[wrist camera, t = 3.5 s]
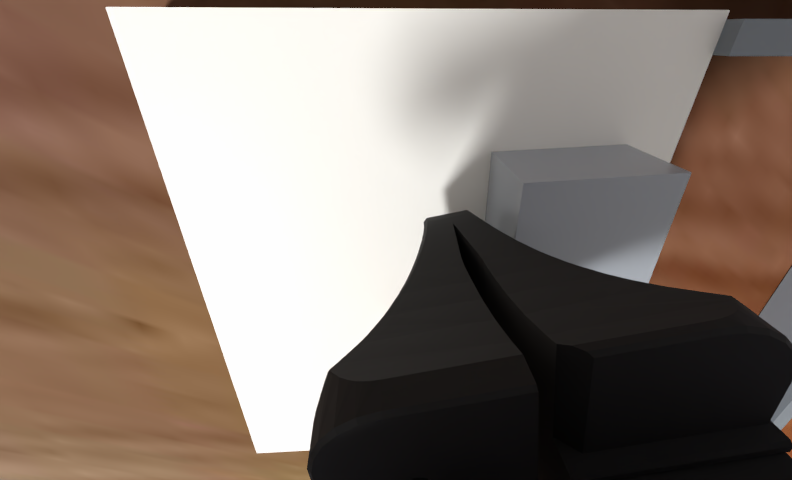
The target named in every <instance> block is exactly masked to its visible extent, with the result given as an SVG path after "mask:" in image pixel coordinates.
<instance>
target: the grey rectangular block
mask: <svg viewBox="0 0 792 480" xmlns="http://www.w3.org/2000/svg"><path fill="white" fill-rule="evenodd" d="M690 175H691V172H689V171H687V170H684V169H682V168H680V167H678V166H675V165H673V164H671V163H668V162H666V161H664V160H662V159H659V158H657V157H655V156H652V155H650V154H648V153H646V152H643V151H641V150H639V149H636V148H634V147H632V146H630V145H627V144H620V145H603V146H585V147H567V148H549V149H532V150H514V151H497V152H491V162H490V173H489V183H488V194H487V204H486V215H485V222H486V223H488V224H490V225H491V226H493V227H494V228H496V229H498V230H499V231H501V232H503V233H505V234H506V235H508V236H510V237H512V238H514V239H515V240H517V241H519V242H521V243H523V244H525V245H527V246H530V247H532V248H534V249H536V250H538V251H540V252H543V253H545V254H548V255H550V256H553V257H555V258H558V259H561V260H563V261H566V262H569V263H572V264H575V265H578V266H581V267H584V268H588V269H591V270H595V271H598V272H602V273H605V274H609V275H613V276H617V277H621V278H625V279H630V280H635V281H640V282H645V283H649V280H650V278H651V275H652V273H653V270H654V267H655V265H656V262H657V260H658V257H659V255H660V252H661V249H662V247H663V244H664V242H665V239H666V237H667V234H668V232H669V229H670V226H671V224H672V221H673V219H674V216H675V214H676V211H677V208H678V206H679V203H680V201H681V198H682V196H683V193H684V190H685V188H686V185H687V183H688V180H689V178H690Z"/></svg>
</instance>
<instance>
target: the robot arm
mask: <svg viewBox="0 0 792 480" xmlns="http://www.w3.org/2000/svg"><path fill="white" fill-rule="evenodd" d="M791 382H792V343H791V342H790V341H789V339H788V338H787V337H786V336H785V335H784V334H782V333H781V332H780V331H778V330H777V329H775V328H774V327H773V326H771V325H770V324H769V323H767V322H766V321H765V320H763V319H762V318H761V317H759V316H758V315H757V314H755V313H754V312H753V311H751V310H750V309H748V308H747V307H746V306H744V305H743V304H742V303H740V302H739V301H738V300H736V299H735V298H733V297H732V296H727V295H720V294H713V293H706V292H699V291H692V290H685V289H678V288H671V287H665V286H659V285H654V284H649V283H645V282H640V281H635V280H630V279H625V278H621V277H617V276H613V275H609V274H605V273H602V272H598V271H595V270H591V269H588V268H584V267H581V266H578V265H575V264H572V263H569V262H566V261H563V260H561V259H558V258H555V257H553V256H550V255H548V254H545V253H543V252H540V251H538V250H536V249H534V248H532V247H530V246H527V245H525V244H523V243H521V242H519V241H517V240H515V239H514V238H512V237H510V236H508V235H506V234H505V233H503V232H501V231H499V230H498V229H496V228H494V227H493V226H491V225H490V224H488V223H486V222H485V221H483V220H482V219H480V218H479V217H477V216H476V215H474V214H473V213H471V212H470V211H468V210H464V211H459V212H454V213H449V214H444V215H439V216H434V217H429V218H426V220H425V221H424V232H423V237H422V241H421V245H420V248H419V251H418V254H417V257H416V260H415V262H414V265H413V267H412V269H411V272H410V274H409V276H408V278H407V280H406V282H405V284H404V286H403V287H402V289H401V291H400V293H399V294H398V296H397V297H396V299H395V300H394V302H393V303H392V305H391V306H390V308H389V309H388V310H387V312H386V313H385V315H384V316H383V317H382V318H381V320H380V321H379V322H378V323H377V324H376V325H375V327H374V328H373V329H372V330H371V331H370V332H369V333H368V335H367V336H366V337H365V338H364V339H363V340H362V341H361V342H360V343H359V344H358V345H357V346H356V347H354V348H353V349H352V350H351V351H350V352H349V353H348V354H347V355H346V356H344V357H343V358H342V359H341V360H340V361H339V362H338V363H337V364H335V365H334V366H333V367H332V368H331V369H329V371H328V373H327V376H326V379H325V382H324V385H323V388H322V391H321V395H320V398H319V402H318V405H317V408H316V412H315V417H314V422H313V429H312V436H311V444H310V451H309V458H308V466H307V470H308V473H309V476H310V479H311V480H792V458H791V457H790V456H789V455H788V454H787V453H786V452H790V451H791V449H792V443H791V440H790V439H789V438H788V437H787V436H786V435H785V434H784V433H783V432H782V431H781V430H780V429H779V428H778V427H777V426H776V425H775V424H774V423H773V422H772V421H771V418H772V416H773V415H774V413H775V411H776V409H777V407H778V406H779V404H780V402H781V400H782V398H783V397H784V395H785V393H786V391H787V389H788V388H789V386H790V384H791Z"/></svg>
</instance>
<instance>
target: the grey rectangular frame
mask: <svg viewBox="0 0 792 480" xmlns="http://www.w3.org/2000/svg"><path fill="white" fill-rule="evenodd" d="M713 55H719V56H792V19H726V22H725V24H724V27H723V30H722V32H721V35H720V37H719V40H718V42H717V45H716V47H715V50H714V52H713ZM759 317H761V318H762V319H763V320H765V321H766V322H767V323H769V324H770V325H771V326H773V327H774V328H775V329H777V330H778V331H780V332H781V333H782V334H784V335H785V336H786V337H787V338H788V339H789V341H790V342H791V343H792V267H791V268H790V270H789V271H788V273H787V274H786V276H785V277H784V279H783V280H782V282H781V283H780V285H779V286H778V288H777V289H776V291H775V292H774V294H773V295H772V297H771V298H770V300H769V301H768V303H767V304H766V306H765V307H764V309H763V310H762V312H761V313H760V315H759ZM791 418H792V382H791V384H790V386H789V388H788V389H787V391H786V393H785V395H784V397H783V398H782V400H781V402H780V404H779V406H778V407H777V409H776V411H775V413H774V415H773V416H772V418H771V421H772V422H773V423H774V424H775V425H776V426H777V427H778V428H779V429H780V430H781V429H782V428H783V427H784V426H785V425H786V424H787V423H788V422H789V421H790V419H791Z"/></svg>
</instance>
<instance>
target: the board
mask: <svg viewBox="0 0 792 480" xmlns="http://www.w3.org/2000/svg"><path fill="white" fill-rule="evenodd" d="M106 10H107V13H108V16H109V19H110V22H111V25H112V28H113V31H114V34H115V37H116V40H117V43H118V46H119V49H120V51H121V54H122V57H123V60H124V63H125V66H126V69H127V72H128V75H129V78H130V81H131V84H132V87H133V90H134V93H135V96H136V99H137V102H138V105H139V107H140V110H141V113H142V116H143V119H144V122H145V125H146V128H147V131H148V134H149V137H150V140H151V143H152V146H153V149H154V152H155V155H156V158H157V161H158V163H159V166H160V169H161V172H162V175H163V178H164V181H165V184H166V187H167V190H168V193H169V196H170V199H171V202H172V205H173V208H174V211H175V214H176V217H177V219H178V222H179V225H180V228H181V231H182V234H183V237H184V240H185V243H186V246H187V249H188V252H189V255H190V258H191V261H192V264H193V267H194V270H195V273H196V275H197V278H198V281H199V284H200V287H201V290H202V293H203V296H204V299H205V302H206V305H207V308H208V311H209V314H210V317H211V320H212V323H213V326H214V328H215V331H216V334H217V337H218V340H219V343H220V346H221V349H222V352H223V355H224V358H225V361H226V364H227V367H228V370H229V373H230V376H231V379H232V382H233V384H234V387H235V390H236V393H237V396H238V399H239V402H240V405H241V408H242V411H243V414H244V417H245V420H246V423H247V426H248V429H249V432H250V435H251V438H252V440H253V443H254V446H255V449H256V452H257V453H270V452H288V451H307V450H310V444H311V436H312V429H313V422H314V417H315V412H316V408H317V405H318V402H319V398H320V395H321V391H322V388H323V385H324V382H325V379H326V376H327V373H328V371H329V369H331V368H332V367H333V366H334V365H335V364H337V363H338V362H339V361H340V360H341V359H342V358H343V357H344V356H346V355H347V354H348V353H349V352H350V351H351V350H352V349H353V348H354V347H356V346H357V345H358V344H359V343H360V342H361V341H362V340H363V339H364V338H365V337H366V336H367V335H368V333H369V332H370V331H371V330H372V329H373V328H374V327H375V325H376V324H377V323H378V322H379V321H380V320H381V318H382V317H383V316H384V315H385V313H386V312H387V310H388V309H389V308H390V306H391V305H392V303H393V302H394V300H395V299H396V297H397V296H398V294H399V293H400V291H401V289H402V287H403V286H404V284H405V282H406V280H407V278H408V276H409V274H410V272H411V269H412V267H413V265H414V262H415V260H416V257H417V254H418V251H419V248H420V245H421V241H422V237H423V232H424V221H425V220H426V218H429V217H434V216H439V215H444V214H449V213H454V212H459V211H464V210H468V211H470V212H471V213H473V214H474V215H476V216H477V217H479V218H480V219H482V220H483V221H485V215H486V204H487V194H488V183H489V173H490V162H491V152H497V151H514V150H532V149H549V148H567V147H585V146H603V145H620V144H627V145H630V146H632V147H634V148H636V149H639V150H641V151H643V152H646V153H648V154H650V155H652V156H655V157H657V158H659V159H662V160H664V161H666V162H668V163H670V161H671V159H672V156H673V154H674V151H675V149H676V146H677V144H678V141H679V139H680V136H681V134H682V131H683V128H684V126H685V123H686V121H687V118H688V116H689V113H690V111H691V108H692V106H693V103H694V101H695V98H696V95H697V93H698V90H699V88H700V85H701V83H702V80H703V78H704V75H705V73H706V70H707V68H708V65H709V63H710V60H711V57H712V55H713V52H714V50H715V47H716V45H717V42H718V40H719V37H720V35H721V32H722V30H723V27H724V24H725V22H726V19H727V17H728V14H729V12H730V10H635V9H427V8H218V7H106Z"/></svg>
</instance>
